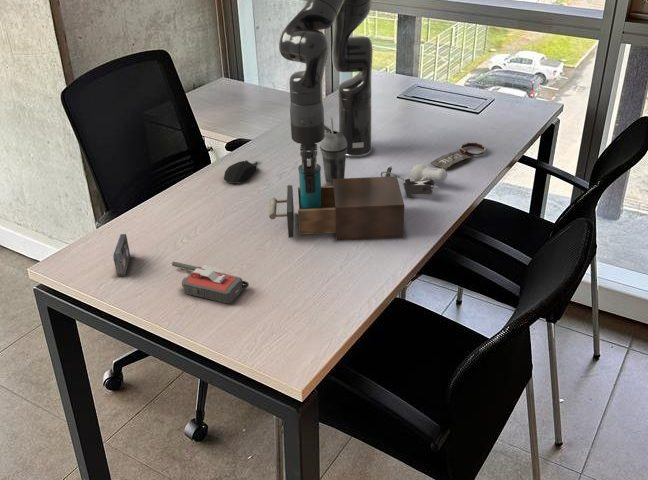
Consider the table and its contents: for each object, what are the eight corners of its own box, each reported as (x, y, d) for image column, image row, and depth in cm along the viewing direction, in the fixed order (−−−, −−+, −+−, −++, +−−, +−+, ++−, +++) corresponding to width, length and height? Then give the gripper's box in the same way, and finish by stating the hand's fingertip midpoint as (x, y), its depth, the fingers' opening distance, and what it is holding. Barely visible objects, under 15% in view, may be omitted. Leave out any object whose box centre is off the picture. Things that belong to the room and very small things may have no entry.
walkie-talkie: (254, 284, 156) (175, 265, 163) (252, 267, 154) (172, 249, 161) (234, 307, 150) (152, 286, 157) (231, 289, 147) (149, 269, 154)
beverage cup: (352, 182, 197) (351, 111, 186) (343, 194, 191) (342, 122, 180) (326, 178, 199) (324, 109, 188) (317, 190, 193) (314, 119, 182)
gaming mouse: (266, 165, 207) (265, 152, 205) (239, 187, 196) (238, 173, 194) (247, 161, 209) (246, 148, 207) (219, 183, 198) (218, 169, 196)
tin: (300, 206, 177) (298, 163, 171) (322, 205, 178) (320, 162, 171) (300, 216, 173) (298, 172, 167) (322, 215, 173) (320, 172, 167)
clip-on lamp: (373, 196, 196) (430, 200, 184) (368, 175, 193) (425, 178, 181) (397, 176, 203) (453, 179, 192) (392, 155, 200) (448, 157, 189)
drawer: (270, 238, 171) (267, 212, 167) (271, 210, 182) (269, 186, 179) (350, 235, 171) (350, 209, 168) (347, 207, 183) (346, 182, 179)
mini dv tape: (123, 256, 167) (119, 234, 164) (130, 256, 167) (126, 233, 164) (117, 276, 160) (112, 253, 157) (124, 276, 160) (119, 253, 157)
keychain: (426, 163, 205) (426, 157, 204) (470, 144, 216) (471, 138, 215) (447, 172, 200) (447, 166, 199) (491, 152, 211) (492, 146, 210)
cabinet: (336, 240, 171) (335, 207, 166) (333, 210, 184) (332, 178, 179) (403, 237, 171) (404, 204, 167) (396, 207, 184) (396, 176, 179)
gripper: (325, 131, 157) (327, 200, 166) (323, 106, 169) (325, 172, 178) (290, 132, 157) (294, 202, 166) (290, 107, 169) (294, 173, 178)
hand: (310, 186), depth 172 cm, fingers closed on tin, 5 cm apart
